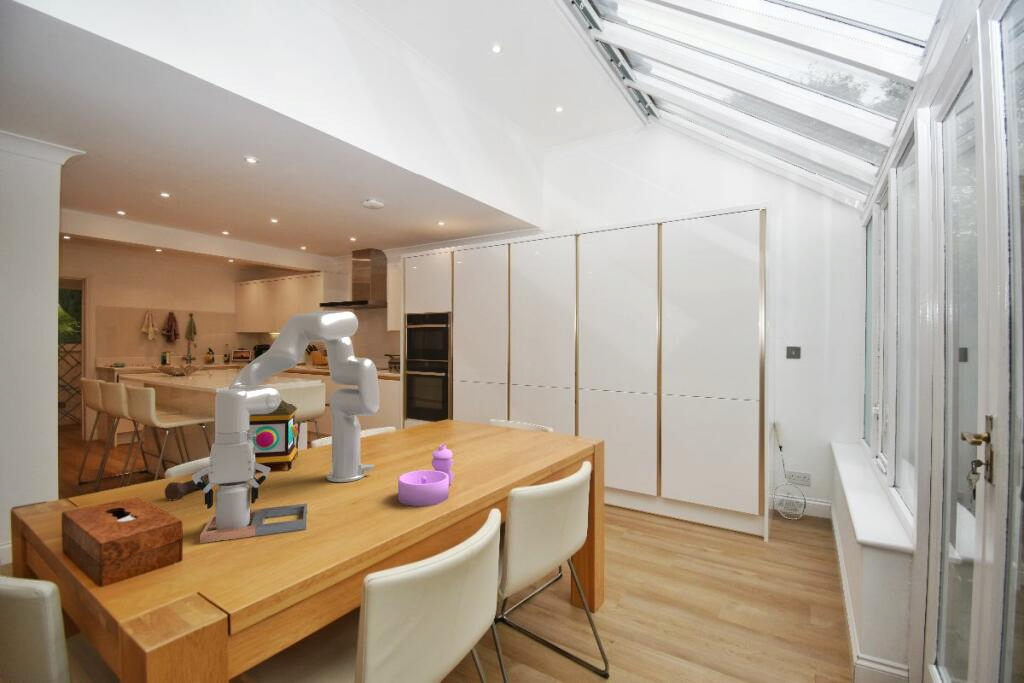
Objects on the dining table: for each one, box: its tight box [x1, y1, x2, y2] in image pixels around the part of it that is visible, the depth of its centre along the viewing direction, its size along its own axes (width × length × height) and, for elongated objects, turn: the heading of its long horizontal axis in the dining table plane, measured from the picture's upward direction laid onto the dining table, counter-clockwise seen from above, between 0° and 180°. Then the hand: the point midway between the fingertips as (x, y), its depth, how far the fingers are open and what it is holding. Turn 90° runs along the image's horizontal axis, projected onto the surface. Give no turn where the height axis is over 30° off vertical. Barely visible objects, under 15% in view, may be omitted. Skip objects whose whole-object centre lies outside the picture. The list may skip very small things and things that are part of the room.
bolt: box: [164, 474, 209, 501], centre depth 147 cm, size 6×5×15 cm
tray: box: [199, 503, 308, 544], centre depth 122 cm, size 23×14×2 cm, turn 113°
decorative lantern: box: [249, 387, 299, 471], centre depth 177 cm, size 20×20×30 cm
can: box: [215, 481, 251, 530], centre depth 119 cm, size 8×8×12 cm
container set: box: [397, 444, 454, 507], centre depth 149 cm, size 25×15×13 cm, turn 164°
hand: (232, 504), depth 119 cm, fingers open, 9 cm apart
